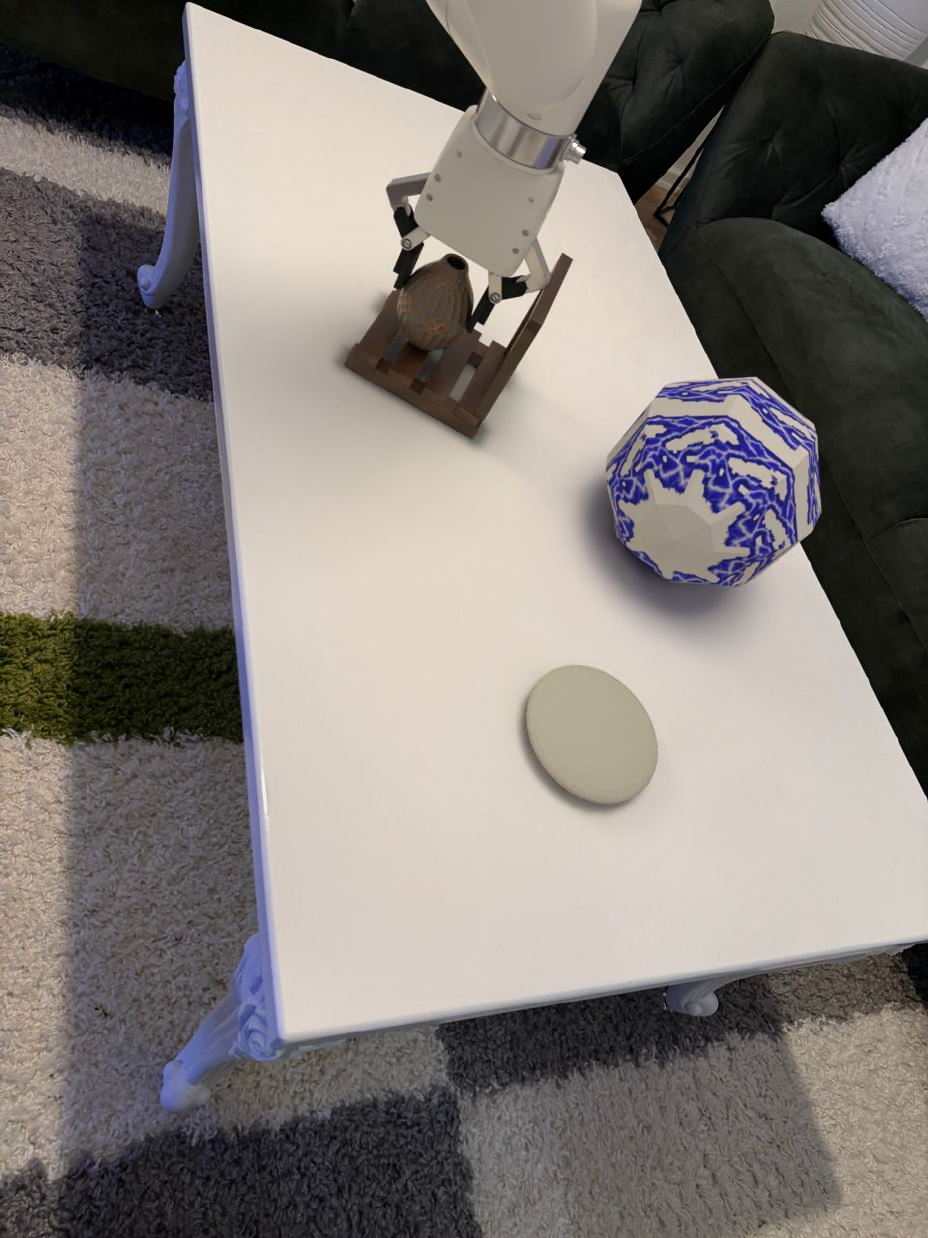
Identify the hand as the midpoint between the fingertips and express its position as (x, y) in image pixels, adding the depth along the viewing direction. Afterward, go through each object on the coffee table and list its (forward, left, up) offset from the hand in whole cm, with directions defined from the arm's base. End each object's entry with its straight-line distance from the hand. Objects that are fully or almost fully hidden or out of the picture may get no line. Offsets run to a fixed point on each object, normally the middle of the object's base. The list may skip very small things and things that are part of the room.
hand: (437, 302), depth 82 cm
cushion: (+28, -31, -7) cm, 42 cm away
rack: (+2, 0, -7) cm, 7 cm away
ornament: (+30, -5, -7) cm, 31 cm away
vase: (0, 0, -4) cm, 4 cm away
